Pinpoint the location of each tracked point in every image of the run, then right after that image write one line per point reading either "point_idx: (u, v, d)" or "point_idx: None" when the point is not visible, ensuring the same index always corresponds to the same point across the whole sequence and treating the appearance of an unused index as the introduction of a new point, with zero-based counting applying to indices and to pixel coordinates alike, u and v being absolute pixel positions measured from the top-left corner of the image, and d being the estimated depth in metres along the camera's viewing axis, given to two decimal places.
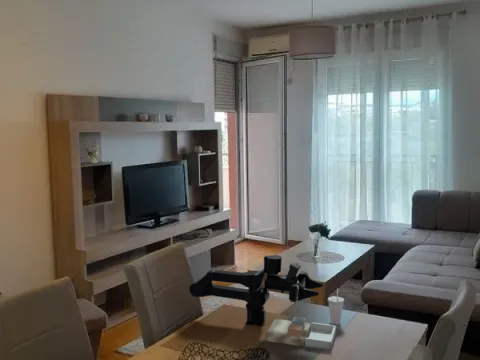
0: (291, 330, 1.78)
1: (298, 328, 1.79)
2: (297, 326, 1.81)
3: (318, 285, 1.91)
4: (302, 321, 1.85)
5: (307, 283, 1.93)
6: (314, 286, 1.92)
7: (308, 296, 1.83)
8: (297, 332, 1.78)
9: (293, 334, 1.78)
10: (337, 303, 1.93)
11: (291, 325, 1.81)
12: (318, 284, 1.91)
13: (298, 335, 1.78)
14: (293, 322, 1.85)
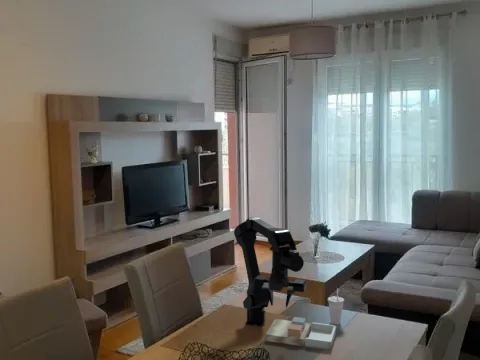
0: (291, 330, 1.78)
1: (298, 328, 1.79)
2: (297, 326, 1.81)
3: None
4: (302, 321, 1.85)
5: None
6: None
7: None
8: (297, 332, 1.78)
9: (293, 334, 1.78)
10: (337, 303, 1.93)
11: (291, 325, 1.81)
12: None
13: (298, 335, 1.78)
14: (293, 322, 1.85)
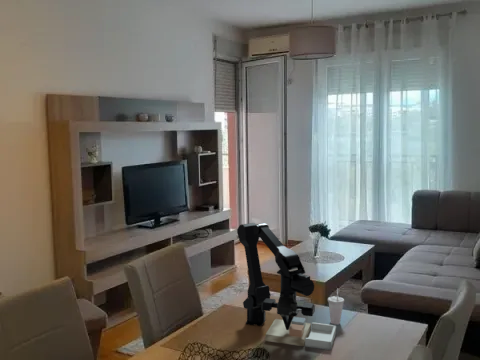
0: (292, 330, 1.78)
1: (299, 328, 1.79)
2: (298, 326, 1.80)
3: None
4: (302, 321, 1.85)
5: None
6: None
7: None
8: (298, 332, 1.78)
9: (294, 334, 1.78)
10: (337, 303, 1.93)
11: (292, 325, 1.81)
12: None
13: (299, 335, 1.78)
14: (293, 322, 1.85)
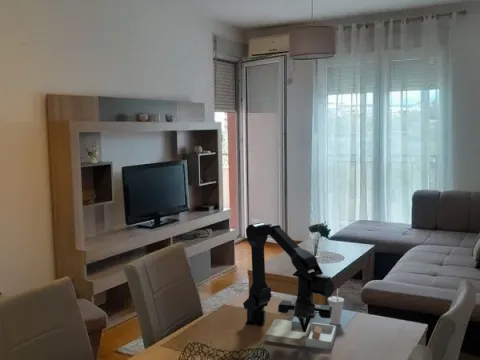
0: (317, 336, 1.75)
1: None
2: (319, 337, 1.78)
3: None
4: None
5: None
6: None
7: None
8: None
9: (313, 336, 1.76)
10: (337, 303, 1.93)
11: (321, 331, 1.78)
12: (304, 327, 1.79)
13: None
14: (293, 322, 1.85)
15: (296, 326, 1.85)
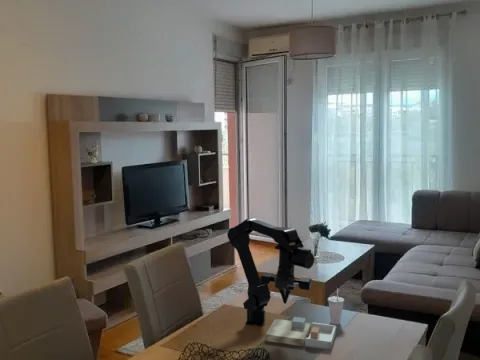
0: (315, 336, 1.76)
1: None
2: (318, 337, 1.78)
3: None
4: (302, 321, 1.85)
5: None
6: None
7: None
8: None
9: (312, 337, 1.76)
10: (337, 303, 1.93)
11: (319, 331, 1.78)
12: None
13: None
14: (293, 322, 1.85)
15: (296, 326, 1.85)
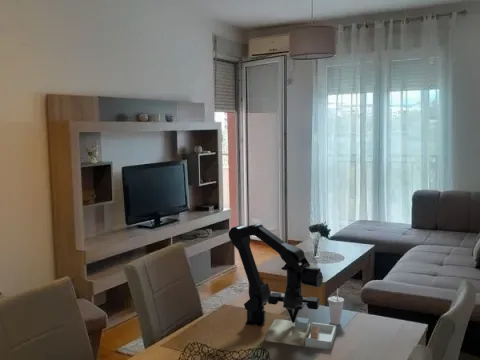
0: (315, 336, 1.76)
1: None
2: (318, 337, 1.78)
3: None
4: (305, 321, 1.85)
5: None
6: None
7: None
8: None
9: (312, 337, 1.76)
10: (337, 303, 1.93)
11: (319, 331, 1.78)
12: None
13: None
14: (296, 322, 1.85)
15: (299, 326, 1.85)
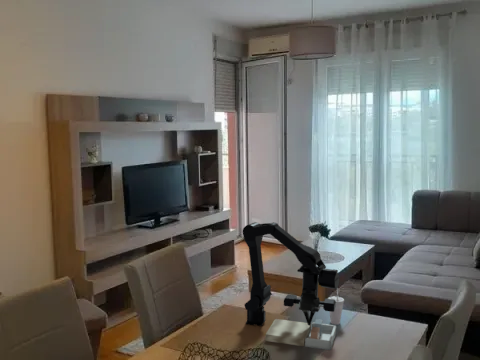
0: (315, 336, 1.76)
1: None
2: (318, 337, 1.78)
3: None
4: (321, 333, 1.84)
5: None
6: None
7: None
8: None
9: (312, 337, 1.76)
10: (337, 303, 1.93)
11: (319, 331, 1.78)
12: None
13: None
14: (320, 325, 1.83)
15: None
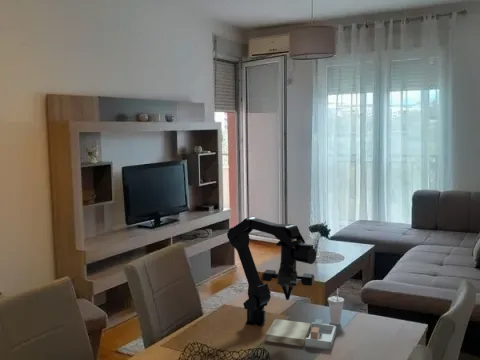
0: (315, 336, 1.76)
1: None
2: (318, 337, 1.78)
3: None
4: (321, 333, 1.84)
5: None
6: None
7: None
8: None
9: (312, 337, 1.76)
10: (337, 303, 1.93)
11: (319, 331, 1.78)
12: None
13: None
14: (320, 325, 1.83)
15: None
